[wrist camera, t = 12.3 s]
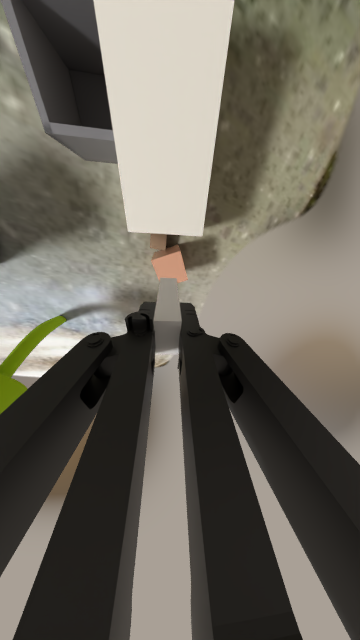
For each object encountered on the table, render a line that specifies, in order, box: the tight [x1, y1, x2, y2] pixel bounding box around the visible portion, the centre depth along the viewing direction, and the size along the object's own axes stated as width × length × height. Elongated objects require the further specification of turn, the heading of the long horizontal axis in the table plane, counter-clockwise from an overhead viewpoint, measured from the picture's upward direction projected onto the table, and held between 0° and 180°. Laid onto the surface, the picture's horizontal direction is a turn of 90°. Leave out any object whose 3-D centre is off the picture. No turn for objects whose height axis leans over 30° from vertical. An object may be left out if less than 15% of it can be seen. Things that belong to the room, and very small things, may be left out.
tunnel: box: [1, 0, 234, 236], centre depth 15 cm, size 14×15×8 cm
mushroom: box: [0, 316, 66, 414], centre depth 22 cm, size 8×8×25 cm
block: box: [151, 244, 188, 283], centre depth 23 cm, size 4×4×6 cm
